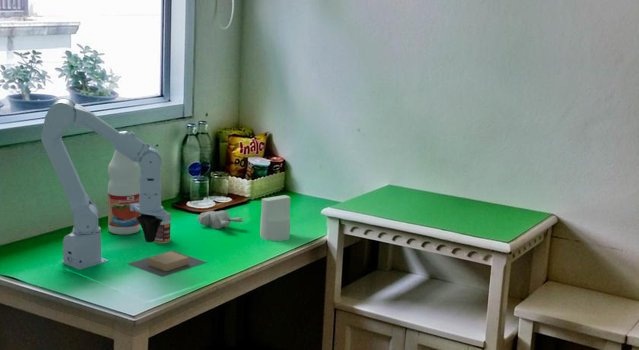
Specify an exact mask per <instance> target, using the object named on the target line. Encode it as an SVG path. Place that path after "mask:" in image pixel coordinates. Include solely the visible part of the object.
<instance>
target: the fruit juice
mask: <svg viewBox="0 0 639 350" xmlns="http://www.w3.org/2000/svg"><path fill="white" fill-rule="evenodd" d="M112 155H113V156H112V158H111V160H110V162H109V163H108V166H107V172H108V176H109V180H108V183H107V217H108V218H107V219H108V220H107V221H108V222H107V226H108V227H107V228H108V231H109V233H111V234H115V235H118V236H119V235H121V236H125V235H132V234H136V233H139V231H141V230H140V229H141V225H140V223H139V221H138V220H137V217H138V216H141V213H139V212H136V211H130V204H133V203H139V176H140V174H139V173H140V166H139V163H138V162H133V161H132V160H130V159H129V158H127V157H126V156H124V155H123V154H121V153H120V152H118V151H116V150H115V149H114V152H113V154H112Z"/></svg>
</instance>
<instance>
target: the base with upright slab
mask: <svg viewBox="0 0 639 350" xmlns="http://www.w3.org/2000/svg"><path fill="white" fill-rule="evenodd" d="M259 229H260V230H259V233H260V234H259V235H260V238H261V239H263V240H266V241H272V242H274V241H275V242H279V241H285V240H288V239H290V238H291V237H290V236H291V197H290V196H289V195H286V194H283V195H282V194H281V195H278V196H271V197H264V198H261V216H260V228H259Z"/></svg>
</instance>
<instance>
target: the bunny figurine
mask: <svg viewBox="0 0 639 350" xmlns="http://www.w3.org/2000/svg"><path fill="white" fill-rule="evenodd" d="M197 221H199V225H203V226H208V227H210V228H211V229H217V230H221V228H227V227H228V226H230V224H231V222H234V223H243V222H244V221H243V219H242V217H231V216H230V213H229V211H226V210H219V211H215V210H209V211H204V212H201V213H200V214H198V215H197Z"/></svg>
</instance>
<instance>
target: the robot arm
mask: <svg viewBox="0 0 639 350" xmlns="http://www.w3.org/2000/svg"><path fill="white" fill-rule="evenodd" d="M73 123H74V124H73ZM72 124H73V127H86V128H88V129H89V130H91V131H93V132H95V133H96V134H98V135H100V136H101V137H103V138H105V139H107V140H109V142H111V143H112V145H113V150H114V151H115V150H116V151H118V152H120V153H121V154H123V155H124V156H126V157H127V158H129V159H130V160H132V161H133V162H137V163H138V165H139V173H140V174H139V175H138V181H139V203H133V204H130V211H136V212H139V213H140V216H138V217H137V220H138V221H139V223H140V228H141V229H142V232H143V236H144V239H145V242H147V243H149V244H150V243H152V242H154V241H155V238H156V234H157V231H158V228H159V226H160V224H161V222H162V220H163V221H164V222H166V221H170V222H171V221H172V213H170V212H168V211H167V210H165V209H164V208H165V207H164V206H162V176H161V173H162V171H161V167H162V165H163V161H162V156H161V153H160V151H159V150H158V149H157V147H156V146H153V145H151V144H150V143H149V142H147V143H146V142H144V141H143V140H141V139H140V138H138V137H137V136H136V133H135V132H133V131H130V132H129V131H127V130H124V131H123V130H122V131H118V130H117V128H114V127H113V126H111V125H110V124H109V123H107V122H106V121H105V120H103V119H102V118H101V117H99V116H98V115H96V114H95V113H93V112H92V111H91V110H89V109H87V108H86V107H84V106H82V105H81V104H79V103H75V102H74V101H72V99H70V98H67V97H59V98H57V99H55V100H54V101H53V102H52V104H51V105H50V107H49V108H48V111H47V112H46V114H45V117H44V121H43V126H42V130H41V136H40V139H41V143H42V146H43V147H44V150H45V151H46V154H47V156H48V158H49V160H50V163H51V164H52V167H53V169H54V171H55V174H56V176H57V178H58V180H59V182H60V184H61V186H62V189H63V192H64V193H65V196H66V197H67V201H68V203H69V208H70V210H71V213H72V216H73V222H72V223H73V227H72V231H71V232H70V233H69V234H66V235H65V236H64V237H63V239H62V240H63V241H62V254H63V255H62V258H63V259H62V261H61V263H62V264H65V265H67V266H70V267H71V268H74V269H76V270H83V269H86V268H90V267H93V266H97V265H101V264H104V263H107V262H109V259H106V258H104V257H102V231H101V230H102V228H101V226H100V225H99V217H100V209H99V208H98V206H97V205H96V204H95V203H94V202H93V201H92V200H91V198H90V196H89V195H88V193H87V192H86V190H85V188H84V185H83V183H82V181H81V178H80V176H79V174H78V172H77V170H76V168H75V165H74V163H73V161H72V159H71V157H70V155H69V152H68V149H67V148H66V144H65V143H64V141H63V136H64V134H65V132H66V129H68V128H69V126H71V125H72Z"/></svg>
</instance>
